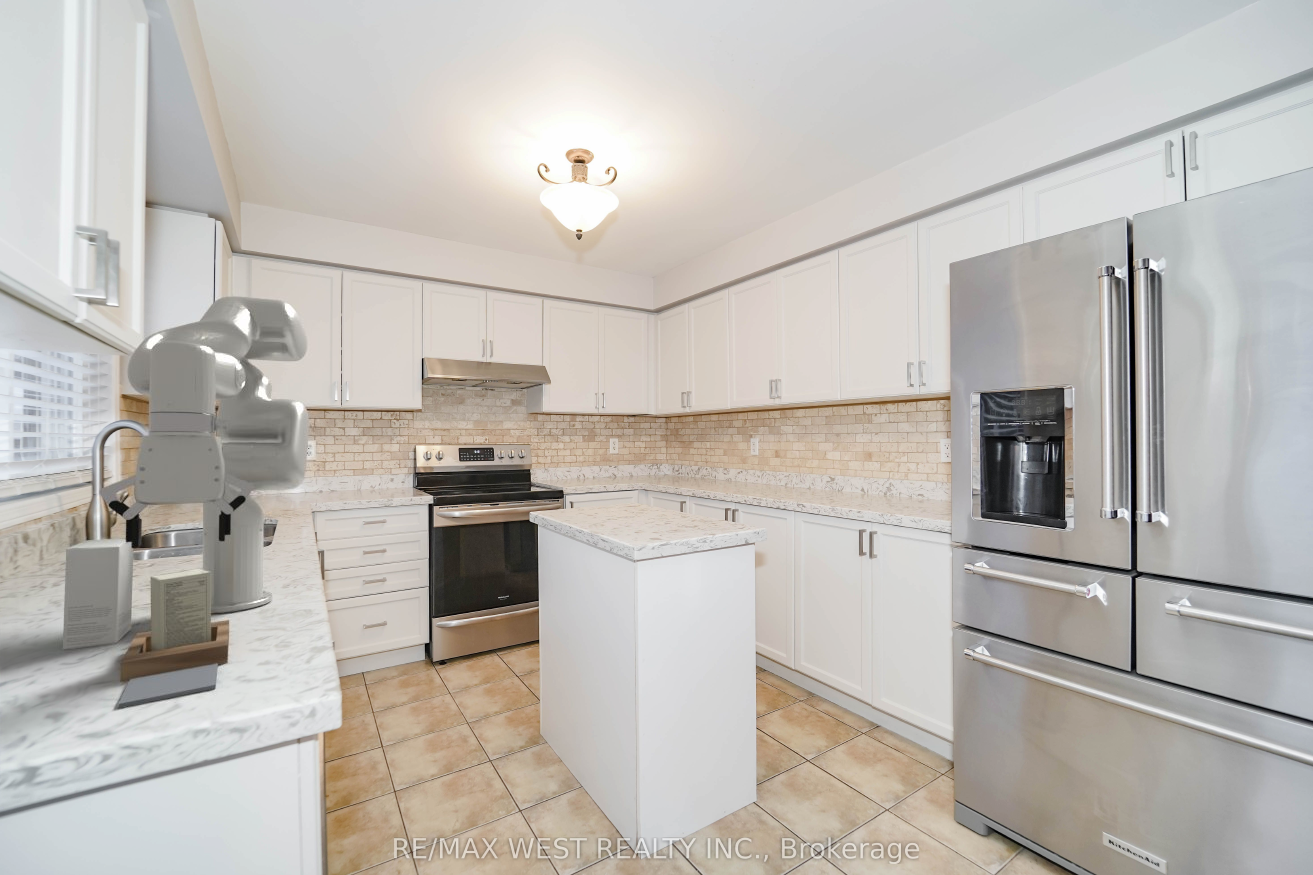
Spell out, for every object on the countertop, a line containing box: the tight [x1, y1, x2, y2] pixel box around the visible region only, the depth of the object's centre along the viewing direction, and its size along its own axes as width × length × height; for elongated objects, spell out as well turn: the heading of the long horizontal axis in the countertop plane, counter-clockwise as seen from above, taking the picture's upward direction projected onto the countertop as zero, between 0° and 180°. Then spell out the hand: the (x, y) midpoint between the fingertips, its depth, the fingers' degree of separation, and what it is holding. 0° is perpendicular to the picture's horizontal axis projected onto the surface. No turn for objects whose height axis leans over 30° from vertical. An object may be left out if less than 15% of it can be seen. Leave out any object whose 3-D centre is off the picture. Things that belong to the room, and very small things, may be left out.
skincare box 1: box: [62, 537, 134, 651], centre depth 91 cm, size 8×7×16 cm
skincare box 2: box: [150, 567, 212, 651], centre depth 84 cm, size 6×4×12 cm
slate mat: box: [117, 663, 219, 709], centre depth 73 cm, size 9×9×1 cm
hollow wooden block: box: [119, 619, 230, 683], centre depth 83 cm, size 15×11×2 cm
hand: (180, 543), depth 83 cm, fingers open, 9 cm apart
